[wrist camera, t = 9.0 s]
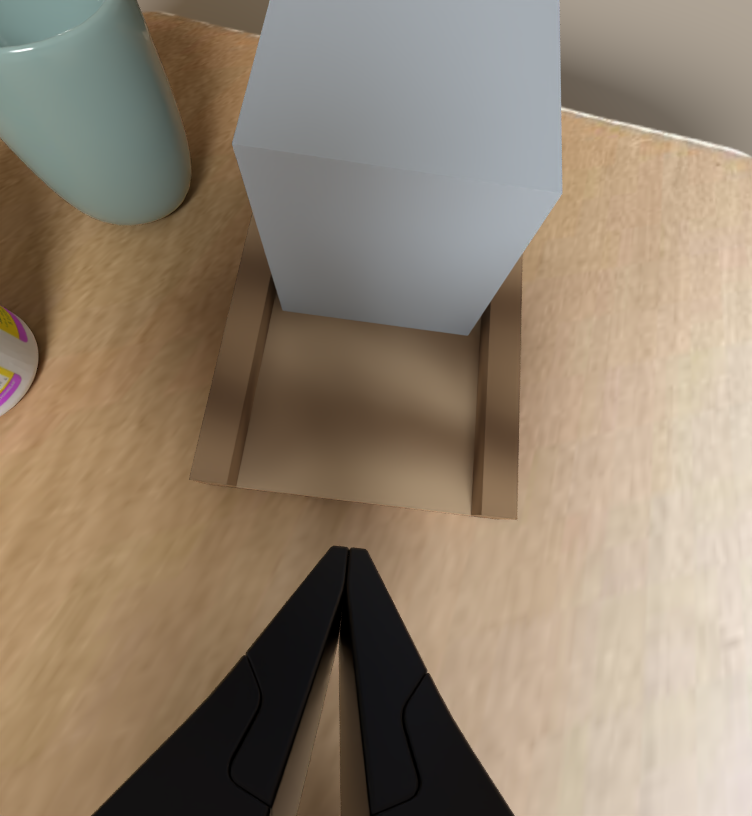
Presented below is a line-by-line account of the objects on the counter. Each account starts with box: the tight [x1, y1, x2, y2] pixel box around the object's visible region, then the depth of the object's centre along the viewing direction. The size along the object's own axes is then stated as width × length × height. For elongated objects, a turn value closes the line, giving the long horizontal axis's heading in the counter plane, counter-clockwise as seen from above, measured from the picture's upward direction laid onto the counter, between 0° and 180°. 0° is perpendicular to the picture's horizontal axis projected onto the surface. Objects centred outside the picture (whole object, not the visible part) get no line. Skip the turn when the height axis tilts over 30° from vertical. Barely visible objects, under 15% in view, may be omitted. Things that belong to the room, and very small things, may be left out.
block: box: [232, 0, 562, 336], centre depth 18 cm, size 9×10×10 cm
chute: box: [189, 212, 523, 519], centre depth 22 cm, size 22×14×3 cm, turn 173°
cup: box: [0, 0, 192, 226], centre depth 19 cm, size 8×8×10 cm
